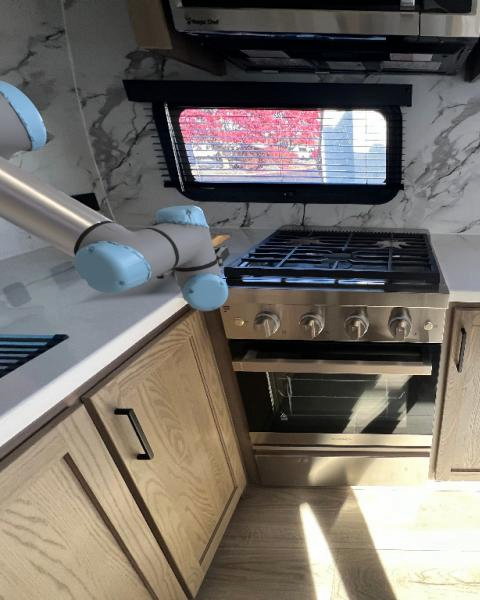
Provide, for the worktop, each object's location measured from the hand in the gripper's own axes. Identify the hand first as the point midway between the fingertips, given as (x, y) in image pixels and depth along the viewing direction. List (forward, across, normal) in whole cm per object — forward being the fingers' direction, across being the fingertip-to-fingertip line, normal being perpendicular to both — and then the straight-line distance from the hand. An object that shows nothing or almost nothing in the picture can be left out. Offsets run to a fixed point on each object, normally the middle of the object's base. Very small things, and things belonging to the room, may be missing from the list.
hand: (181, 251), depth 89 cm
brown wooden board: (+28, +5, -7) cm, 30 cm away
